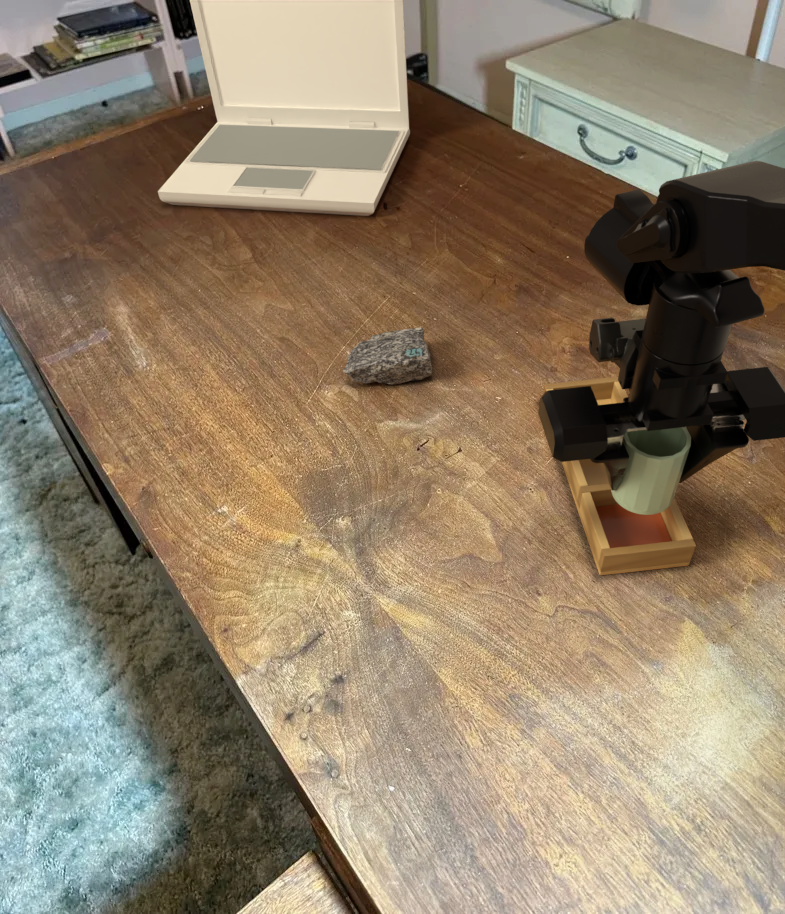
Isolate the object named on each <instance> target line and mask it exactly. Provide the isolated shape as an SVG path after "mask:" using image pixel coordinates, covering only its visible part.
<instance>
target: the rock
mask: <svg viewBox="0 0 785 914" xmlns="http://www.w3.org/2000/svg"><path fill="white" fill-rule="evenodd" d="M424 329H425V328H423V327H416V328H415V327H414V328H413V327H412V328H411V327H410V328H405V329H397V330H393V331H384V332H382V333H378V334H373V335H370V338H369V339H368V340H362V341H360V342H359V343H358V344H357V345H356V346H355V347H353V348H352V349H351V350H350V353H349V354H348V356H347V363H346V364H345V366H344V368H343V370H342V372H343V373H344V374H345V375H347V377H349V378H350V379H351V381H352V382H354V383H363V384H371V383H375V382H376V383H379V384H388V385H399V384H402V383H403V384H404V383H407V382H410V381H422V380H424V379H426V378H428V377H430V376H432V375H433V366H432V360H431V352H430V350H429V346H428V344H427V342H426V341H425V338H424V335H425V330H424Z"/></svg>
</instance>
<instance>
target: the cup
mask: <svg viewBox="0 0 785 914" xmlns="http://www.w3.org/2000/svg"><path fill="white" fill-rule="evenodd" d="M623 443H624V445H625V447H626V450H627V452H628V455H629V460H628V463H627V466H626V469H625V472H624V475H623V478H622V481H621V484H620V485H619V487H618V488H617V490H613V491H612V490H611V492H612V495H613V497H614V499H615V500H616V502H617V503H618V504H619V505H620V506H622V507H623V508H624V509H626V510H628V511H630V512H633V513H636V514H641V515H653V514H657V513H660V512H663V511H664V510H666V509H667V508H668V507H669V506H670V505H671V503H672V501H673V499H674V498H675V496H676V493H677V491H678V486H679V484H680V483H679V481H680V478H681V475H682V472H683V468H684V465H685V462H686V459H687V456H688V453H689V450H690V446H691V436H690V434H689V432H688V430H687V428H686V427H681V428H672V429H662V430H653V431H647V430H640V431H631V432H626V433H625V436H624V437H623Z"/></svg>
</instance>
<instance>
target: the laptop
mask: <svg viewBox="0 0 785 914" xmlns="http://www.w3.org/2000/svg"><path fill="white" fill-rule="evenodd" d="M189 3H190V8H191V12H192V17H193V21H194V25H195V30H196V35H197V39H198V42H199V48H200V51H201V56H202V61H203V65H204V70H205V74H206V78H207V82H208V83H207V84H208V87H209V91H210V96H211V100H212V104H213V109H214V113H215V117H216V122H215V124H214V125H213V127H212V128H210V130H209V131H208V132H207V133H206V135H204V136H203V138H202V140H200V141H199V143H198V144H197V145H196V146H195V147H194V148H193V150H192V151H191V152H190V153H189V154H188V155H187V157H186V158H185V159H184V160H183V161H182V162H181V164H180V165H179V166H178V167H177V168H176V169H175V171H174V172H173V173H172V174H171V175H170V176H169V178H168V179H167V180H166V181H165V182H164V183H163V185H161V187H160V188H159V189H158V190H157V193H158V198H159V200H160V201H161V202H162V203H166V204H169V205H172V206H185V207H186V206H187V207H204V208H205V207H206V208H221V209H222V208H224V209H239V210H240V209H241V210H257V211H275V212H290V213H291V212H292V213H307V214H308V213H309V214H326V215H327V214H328V215H342V216H343V215H344V216H360V217H361V216H362V217H369V216H371V215H373V214H374V213H375V210H376V209H377V206H378V204H379V202H380V199H381V197H382V196H383V193H384V191H385V190H386V187H387V184H388V182H389V180H390V178H391V176H392V174H393V172H394V169H395V167H396V165H397V163H398V161H399V159H400V157H401V154H402V152H403V150H404V148H405V146H406V143H407V141H408V139H409V137H410V135H411V129H410V114H409V96H408V93H409V92H408V74H407V73H408V72H407V53H406V52H407V51H406V33H405V31H406V29H405V11H404V10H405V8H404V7H405V6H404V0H189Z"/></svg>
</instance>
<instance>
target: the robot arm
mask: <svg viewBox="0 0 785 914" xmlns="http://www.w3.org/2000/svg"><path fill="white" fill-rule="evenodd" d="M583 247H584V250H583V252H584V256H585V259H586V260H587V261H588V263H589V264H590V265H591V267H593V268H594V269H595V270H596V271H597V272H598V273H599V275H600V276H601V277H602V278H603V279H604V280H605V281H606V282H607V283H608V284H609V285H610V286H611V287H612V288H613V289H614V290H615V291H616V292H617V293H618V295H620V297H622V299H623V300H625V302H627V304H630V305H633V306H647V312H646V315H645V318H637V319H627V320H621V321H619V320H618V321H616V319H615V318H614V317H606V318H605V317H604V318H595V319H592V322H591V326H590V331H589V337H588V339H589V340H588V349H589V353H590V355H591V356H592V357H593V358H594V360H596V362H597V363H605V362H611V363H614V364H615V365H616V366H617V367H618V369H619V372H618V381H619V384H620V386H621V388H622V389H625V390H628V392H629V393H628V397H626V398H624V399H623V403H614V404H605V405H598V403H597V400H596V398H595V395H594V393H593V391H592V388H591V386H585V387H576V388H567V389H557V390H549V391H545V393H544V392H543V393H544V394H542V395H541V396H540V397H539V403H538V417H539V420H540V423H541V426H542V429H543V431H544V435H545V438H546V442H547V444H548V447H549V450H550V453H551V457H552V459H555V460H557V461H559V462H561V463H562V462H566V461H575V460H584V459H590V460H591V461H592V462H594V463H604V467H605V470H606V474H607V478H608V482H609V485H610V487H611V490H612V491H613V490H617V488H618V487H619V485H620V484H621V481H622V478H623V475H624V472H625V469H626V466H627V463H628V460H629V455H628V452H627V450H626V447H625V445H624V443H623V437H624V436H625V433H626V432H631V431H640V430H647V431H653V430H662V429H672V428H681V427H686V428H687V430H688V432H689V434H690V436H691V446H690V450H689V453H688V456H687V459H686V462H685V465H684V468H683V472H682V475H681V478H680V481H679V484H682V483H683V482H685V481H686V480H687V479H689V478H691V477H692V476H693V475H695V474H697V473H698V472H700V471H701V470H703V469H705V468H706V467H708V466H709V465H711V464H712V463H714V462H716V461H717V460H719V459H720V458H722V457H724V456H726V455H728V454H729V453H731V452H733V451H734V450H737V449H742V448H746V447H747V446H748V445H749V442H750V439H751V440H752V441H753V442H756V441H765V440H766V441H767V440H775V439H784V438H785V388H784V386H783V385H782V384H781V382H780V380H779V378H778V377H777V376H776V374H774V372H773V371H772V370H771V369H770V368H769V367H768V366H763V367H753V368H743V369H735V370H727V368H726V367H725V365H724V363H723V362H722V359H723V358H722V357H723V355H724V352H725V349H726V347H727V346H726V345H727V342H728V339H729V337H730V333H731V330H732V327H733V325H734V324H737V323H741V322H745V321H749V320H752V319H756V318H759V317H762V316H763V315H764V314H765V306H764V304H763V301H762V299H761V297H760V295H759V294H757V293H756V292H755V290H754V288H753V287H752V284H751V280H750V278H749V277H748V276H740V277H739V276H738V275H737V274H736V273H734V272H733V271H732V270H735V269H736V270H737V269H744V268H758V267H764V268H765V267H766V268H770V269H775V270H779V271H785V167H783V166H782V167H781V166H778V165H775V164H772V163H768V162H765V161H761V160H754V161H753V160H752V161H748V162H744V163H740V164H736V165H735V164H734V165H730V166H725V167H723V168H722V167H721V168H718V169H714V170H709V171H705V172H700V173H696V174H692V175H688V176H684V177H679V178H674V179H670V180H667V181H664V182H663V183H662V184H661V185H660V186H659V188H658V195H657V198H656V202H655V203H653V202H652V200H651V199H650V198H649V197H648V195H646V194H645V192H643V191H642V190H641V189H640V188H639V189H634V190H629V191H625V192H621V193H617V194H616V195H615V196H614V201H613V206H612V208H610V209H609V210H607V211H606V212H605V213H604V214H602V216H601V217H599V219H597V220H596V222H595V223H594V225H593V226H592V228H591V229H590V232H589V233H588V235H587V236H586V237H585V240H584V245H583ZM744 421H746V422H744ZM744 423H745V424H744ZM743 426H744V427H743Z"/></svg>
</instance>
